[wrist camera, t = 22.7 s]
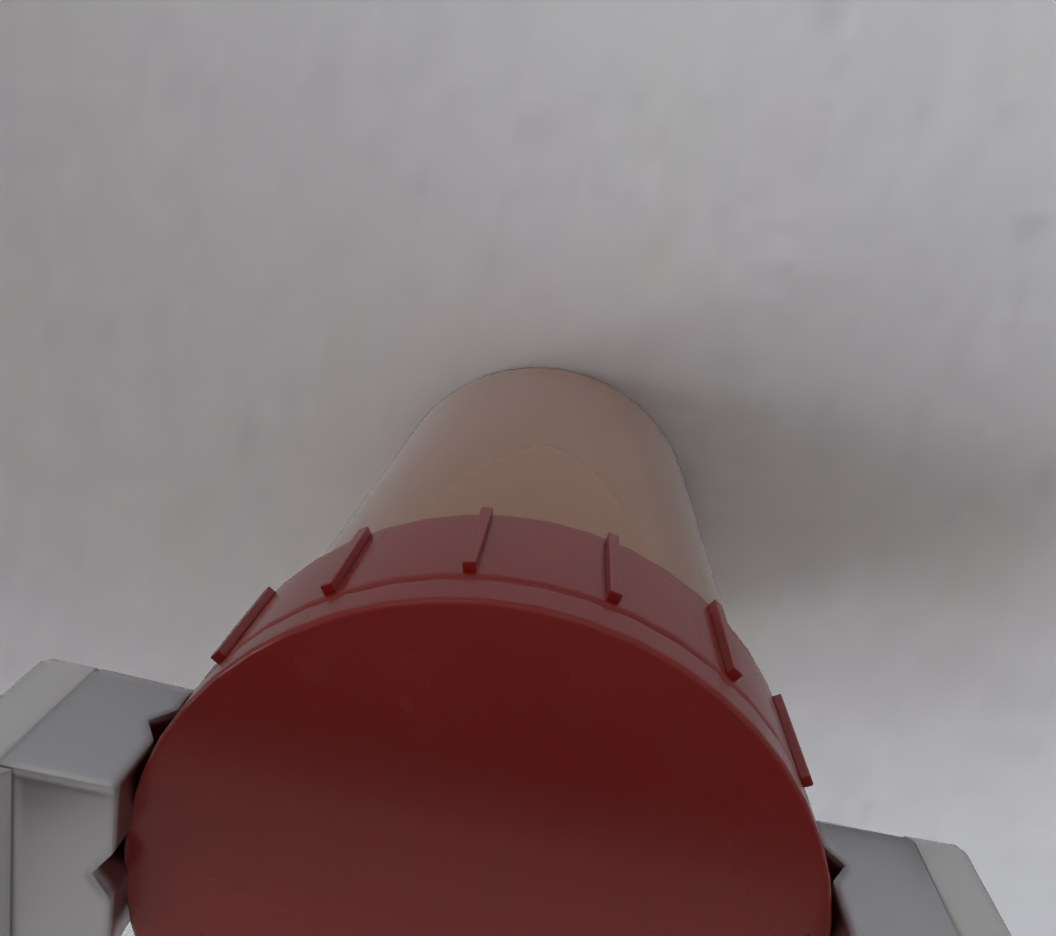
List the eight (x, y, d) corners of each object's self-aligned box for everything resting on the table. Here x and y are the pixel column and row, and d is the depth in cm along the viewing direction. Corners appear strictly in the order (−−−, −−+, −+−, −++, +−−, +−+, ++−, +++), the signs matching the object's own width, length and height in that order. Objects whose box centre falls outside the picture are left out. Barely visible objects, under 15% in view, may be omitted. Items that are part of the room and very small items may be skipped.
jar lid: (427, 1079, 11) (394, 1261, 9) (91, 696, 10) (-27, 817, 8) (897, 867, 9) (968, 1029, 8) (579, 386, 8) (575, 445, 6)
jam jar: (409, 648, 18) (227, 1105, 9) (376, 375, 17) (117, 605, 8) (688, 639, 18) (788, 1113, 9) (683, 358, 16) (799, 581, 7)
